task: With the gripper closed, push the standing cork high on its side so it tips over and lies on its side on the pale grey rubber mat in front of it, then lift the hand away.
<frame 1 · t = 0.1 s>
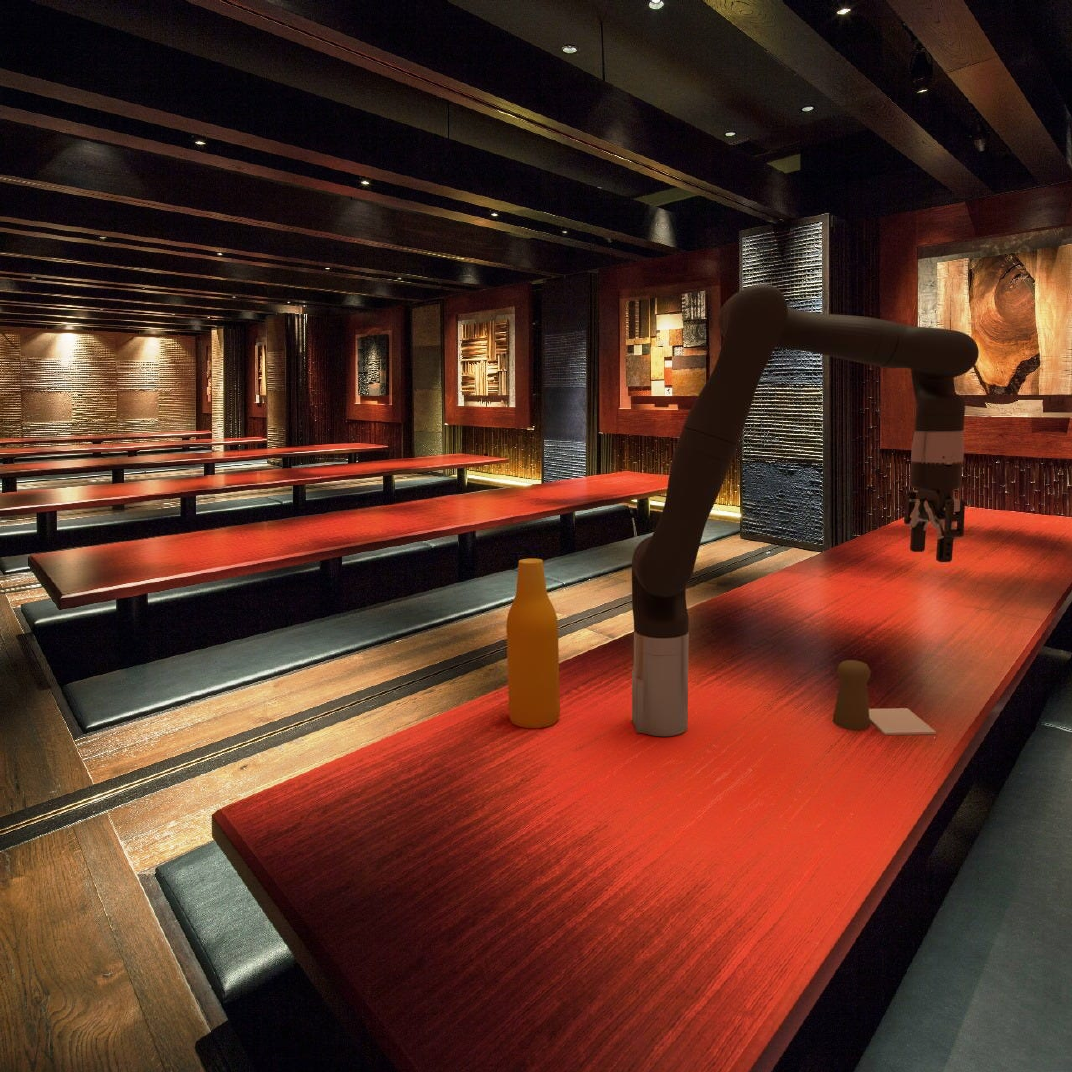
hand: (930, 556, 125), 29 cm above the table, tool pointing down, fingers open, 8 cm apart
cork: (851, 724, 130), on the table
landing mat: (896, 722, 129), on the table
beer bottle: (534, 719, 134), on the table
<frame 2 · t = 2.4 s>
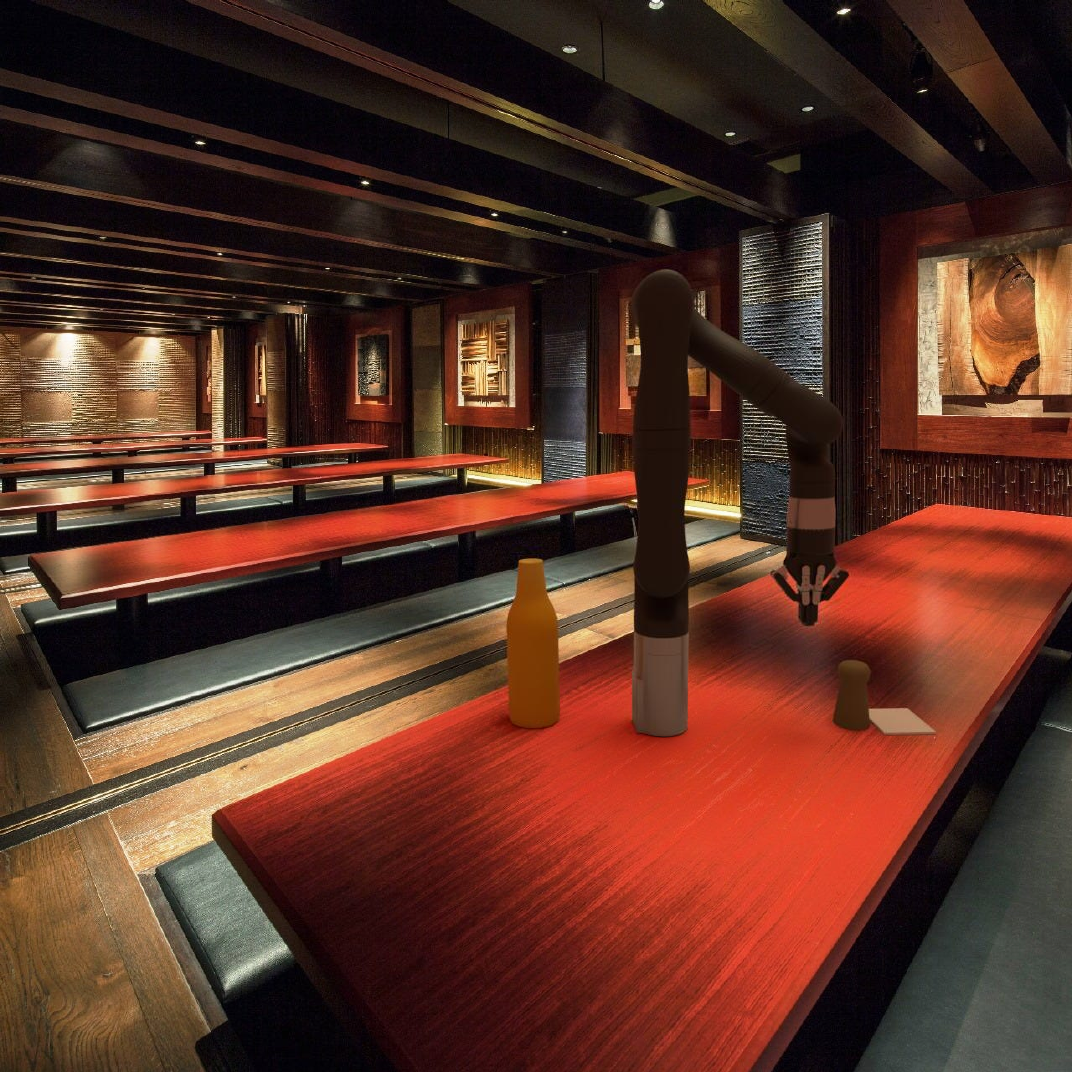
hand: (807, 624, 127), 18 cm above the table, tool pointing down, fingers closed
nothing on the table moved.
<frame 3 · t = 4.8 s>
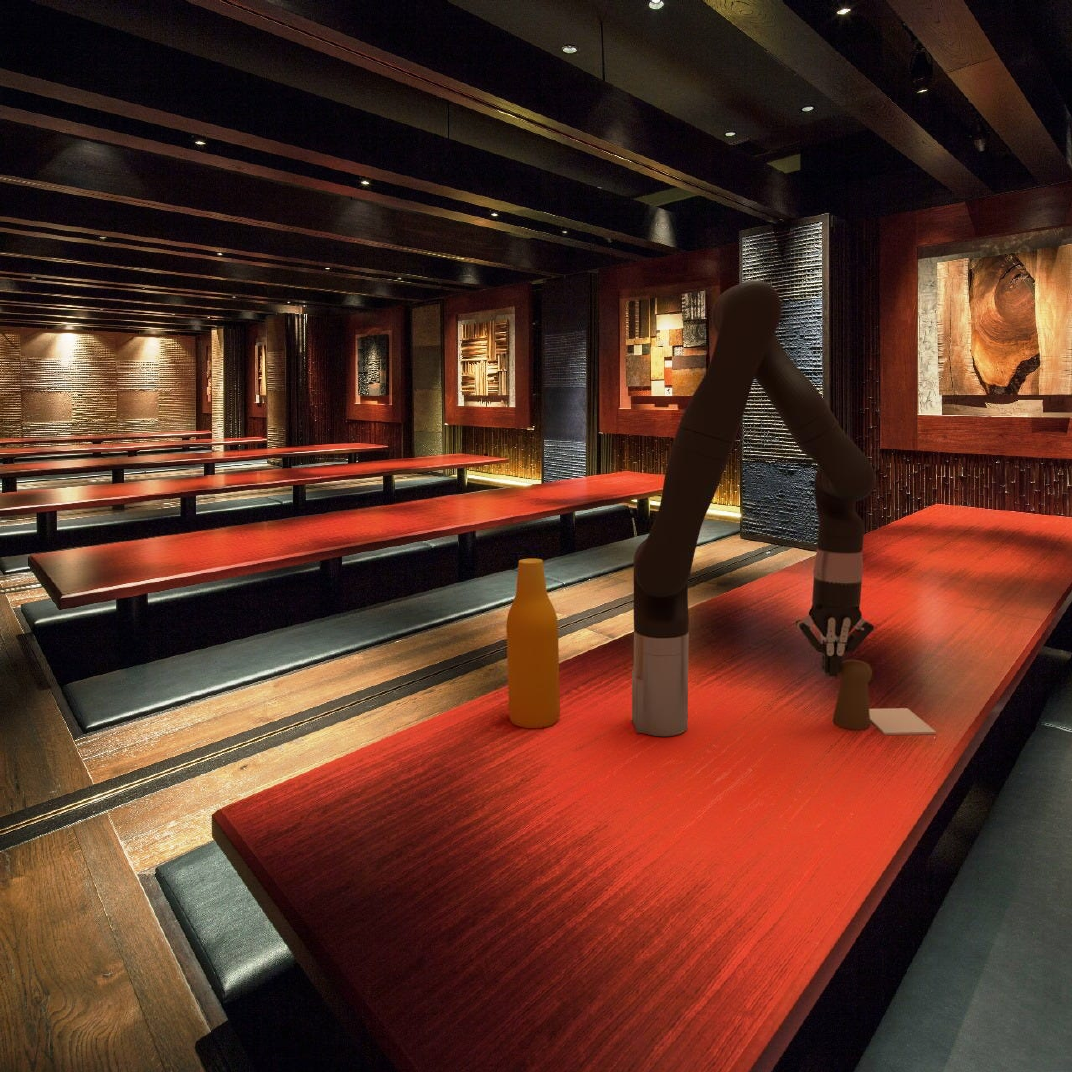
hand: (831, 674, 128), 9 cm above the table, tool pointing down, fingers closed
cork: (851, 723, 130), on the table, touching gripper
everything else where it was.
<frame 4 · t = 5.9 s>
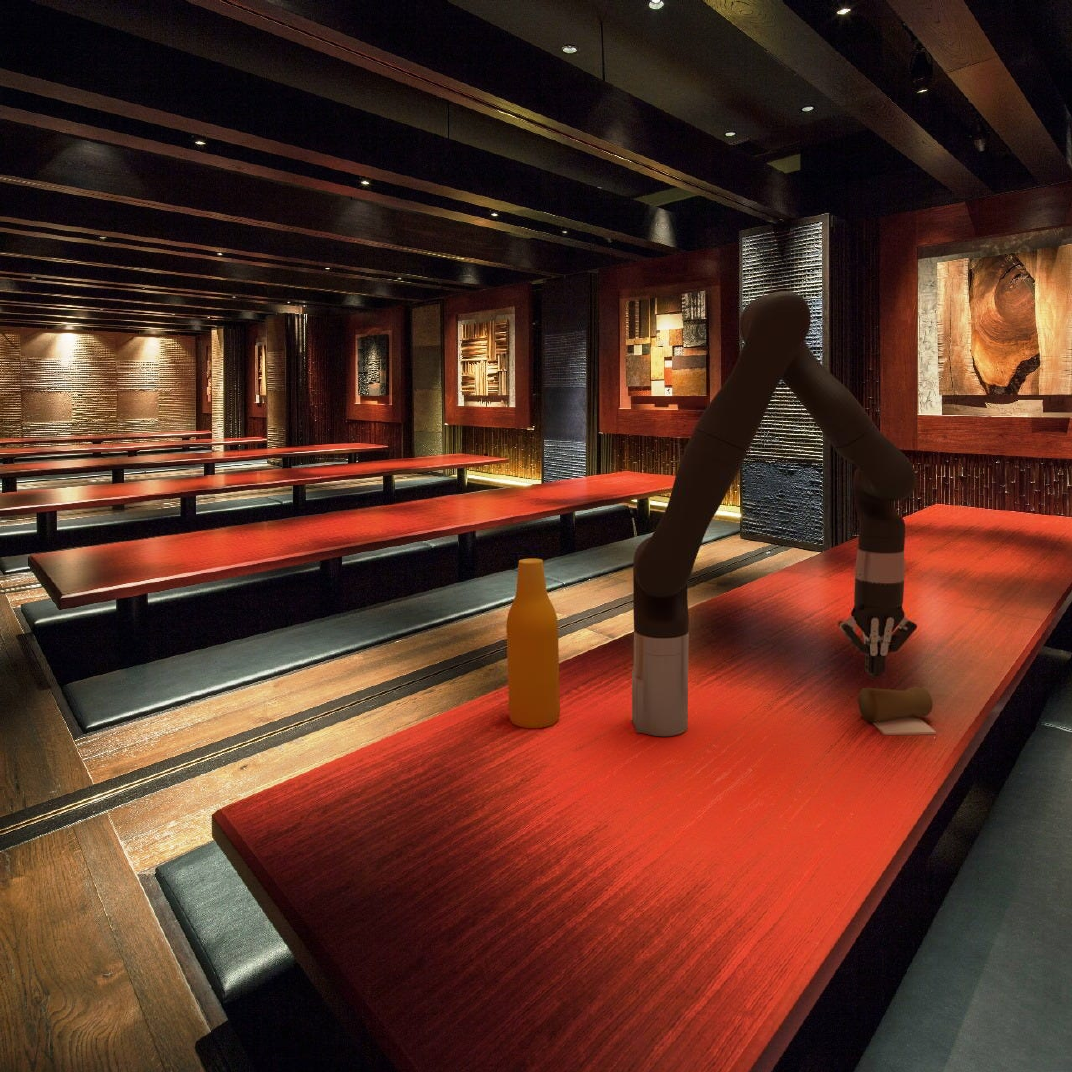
hand: (874, 674, 128), 9 cm above the table, tool pointing down, fingers closed
cork: (866, 705, 129), point 3 cm above the table, touching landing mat
everything else where it was.
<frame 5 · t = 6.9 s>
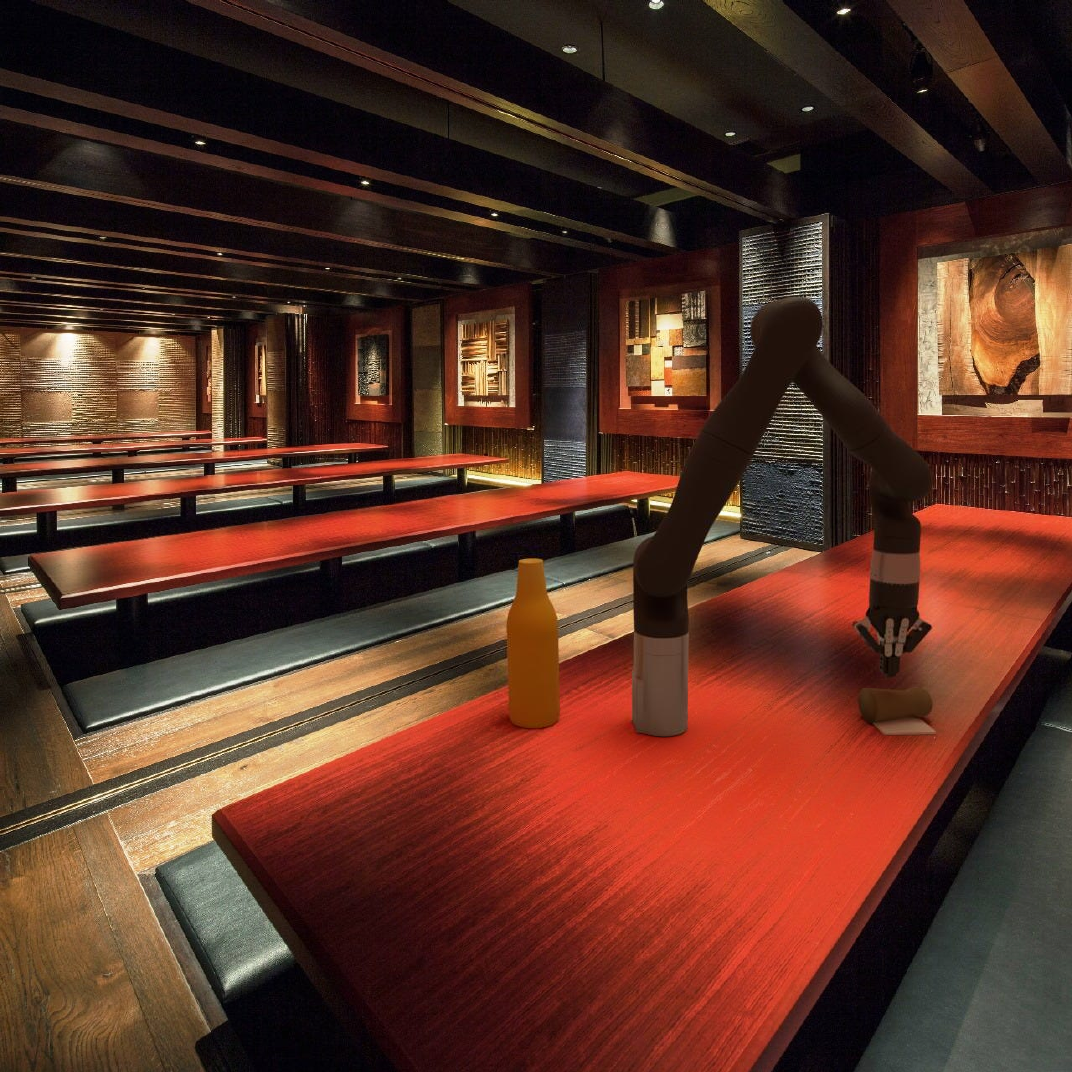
hand: (888, 675, 128), 9 cm above the table, tool pointing down, fingers closed
nothing on the table moved.
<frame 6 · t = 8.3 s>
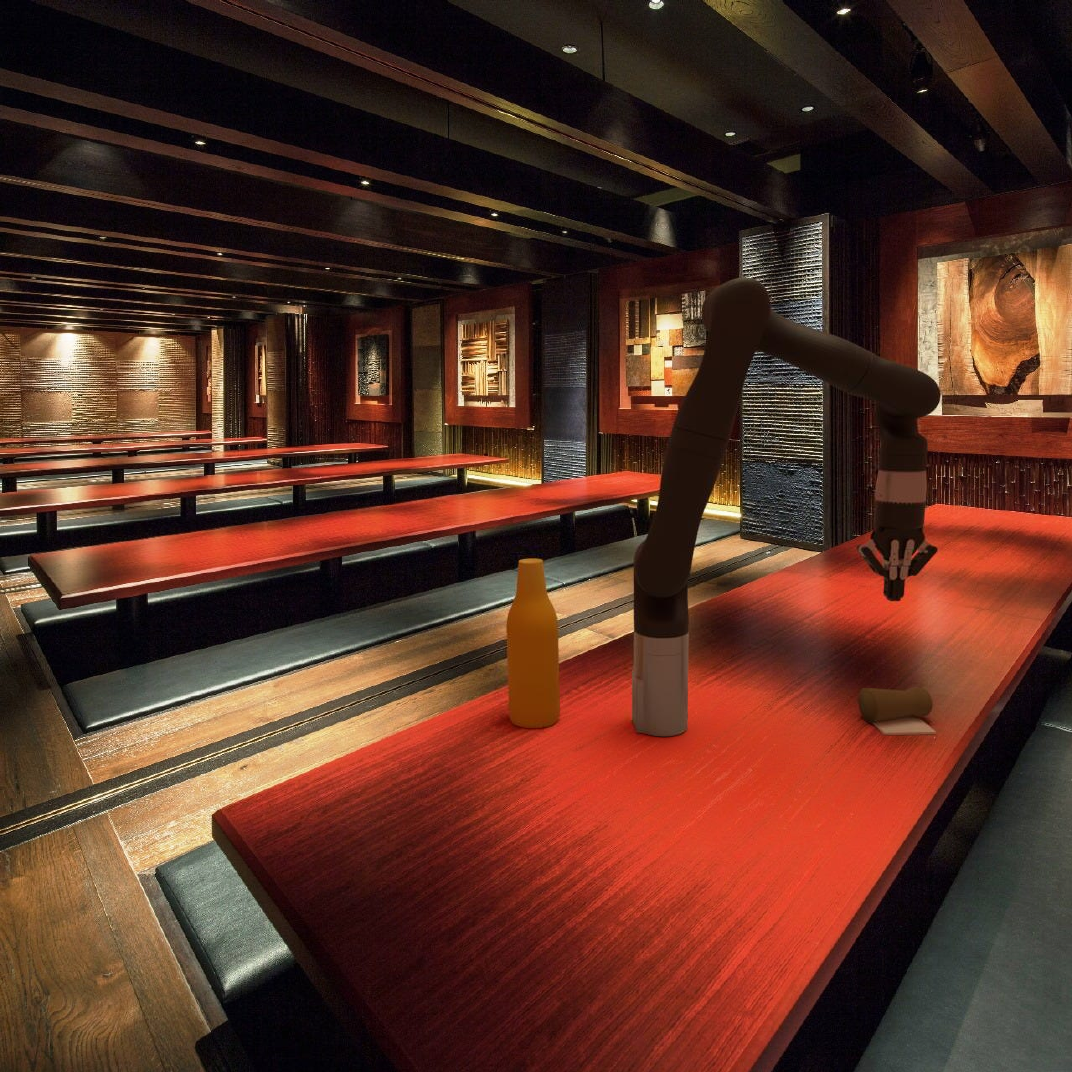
hand: (893, 600, 126), 22 cm above the table, tool pointing down, fingers closed
nothing on the table moved.
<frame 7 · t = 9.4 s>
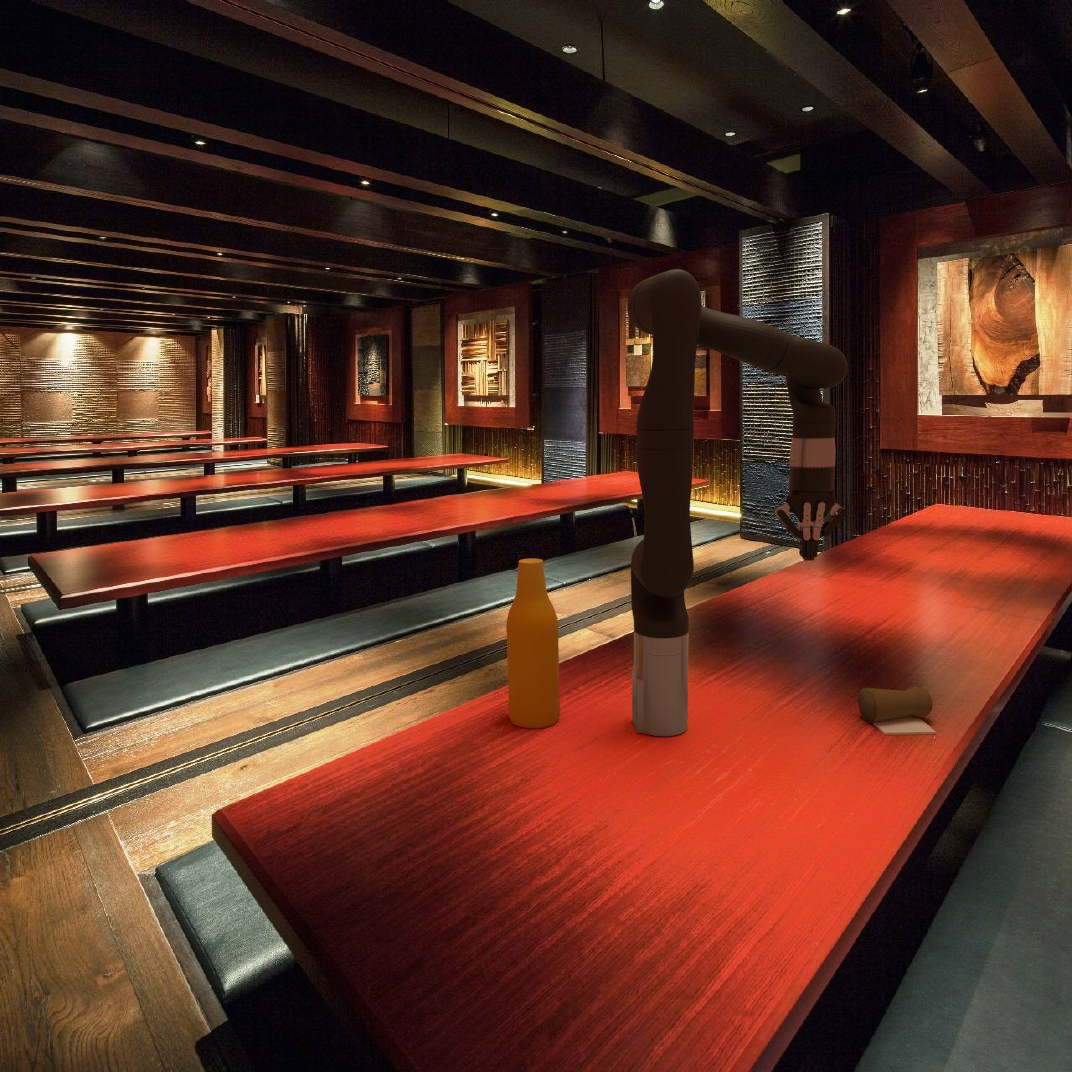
hand: (808, 559, 135), 27 cm above the table, tool pointing down, fingers closed
nothing on the table moved.
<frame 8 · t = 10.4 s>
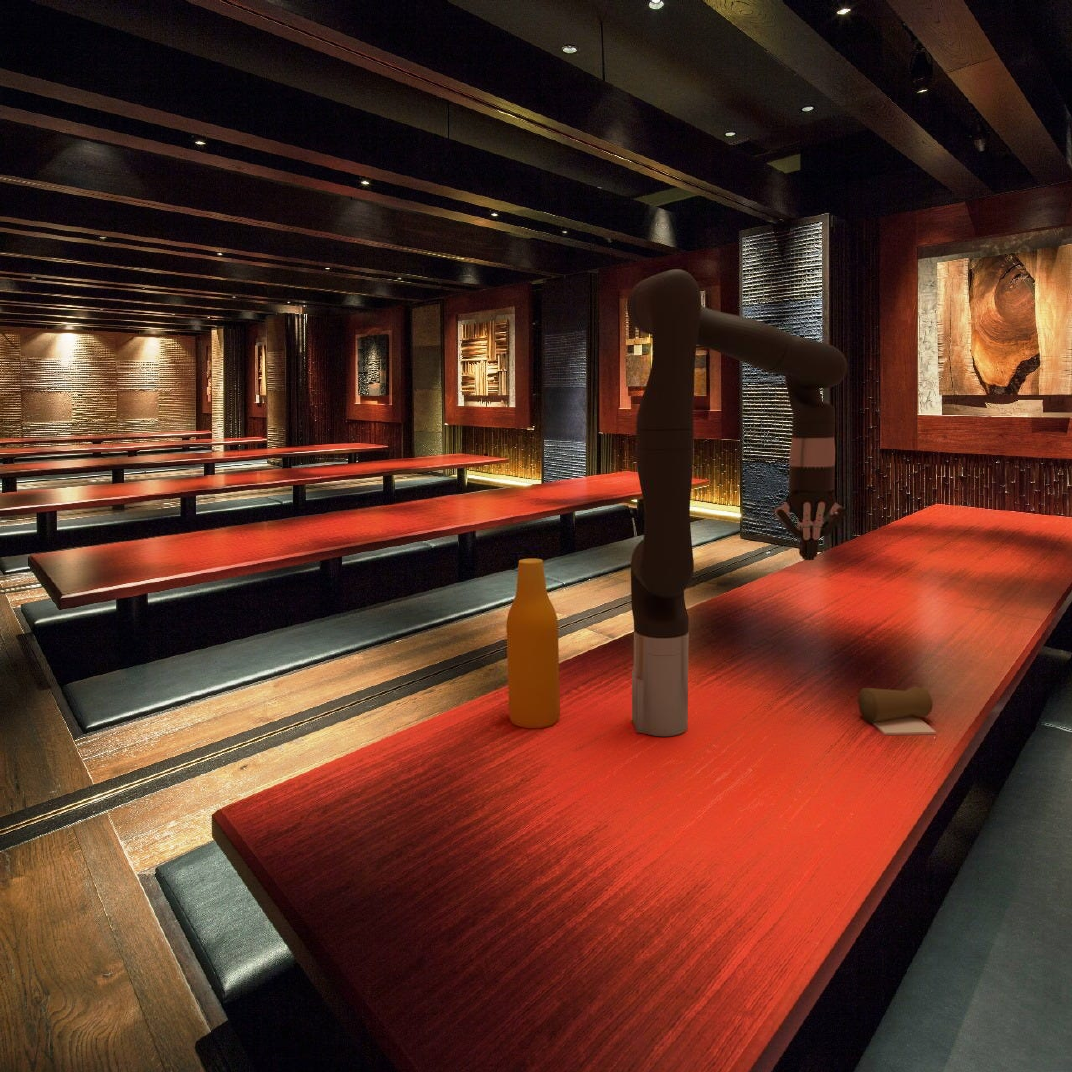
hand: (808, 559, 135), 27 cm above the table, tool pointing down, fingers closed
nothing on the table moved.
at the end: cork tilted 90°; cork inside the target area (2.9 cm from its centre), point 3.0 cm above the table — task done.
